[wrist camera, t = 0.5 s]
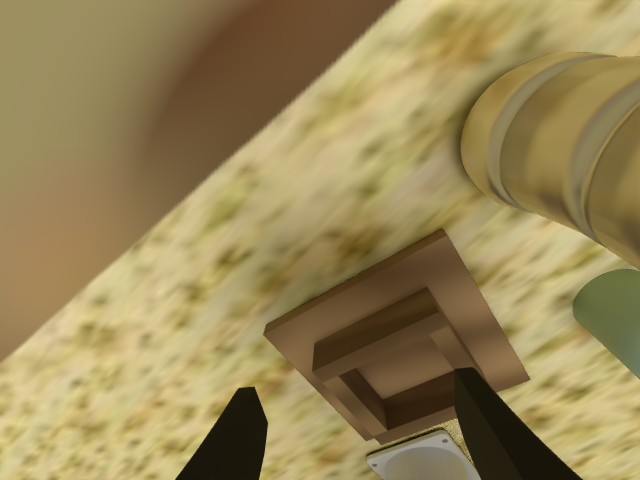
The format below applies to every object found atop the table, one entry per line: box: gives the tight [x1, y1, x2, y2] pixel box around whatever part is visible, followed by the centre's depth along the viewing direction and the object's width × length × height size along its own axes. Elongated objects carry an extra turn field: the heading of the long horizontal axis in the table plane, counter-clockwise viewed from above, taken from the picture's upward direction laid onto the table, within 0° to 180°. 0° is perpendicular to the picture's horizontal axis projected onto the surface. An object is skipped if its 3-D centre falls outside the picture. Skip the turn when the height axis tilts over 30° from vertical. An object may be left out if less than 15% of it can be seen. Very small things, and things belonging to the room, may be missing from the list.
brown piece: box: [263, 229, 531, 445], centre depth 22 cm, size 14×14×4 cm
